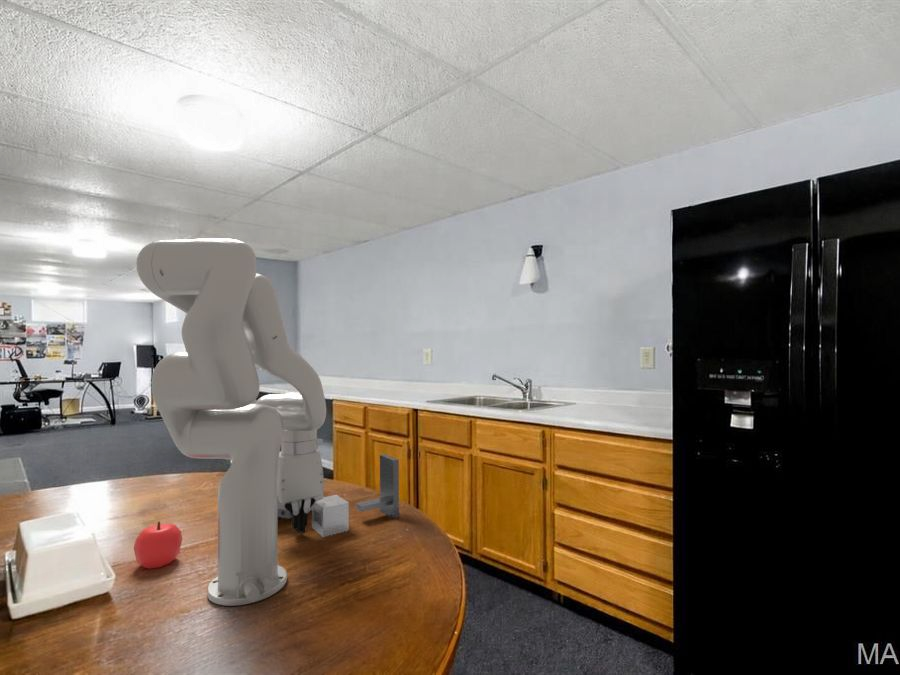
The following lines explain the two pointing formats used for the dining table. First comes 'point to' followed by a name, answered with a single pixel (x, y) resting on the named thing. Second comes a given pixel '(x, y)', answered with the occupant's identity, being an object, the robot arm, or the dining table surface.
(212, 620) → the dining table surface
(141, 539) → the apple
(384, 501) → the grey l-shaped bracket part
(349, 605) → the dining table surface
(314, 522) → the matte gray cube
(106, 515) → the dining table surface
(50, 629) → the dining table surface
